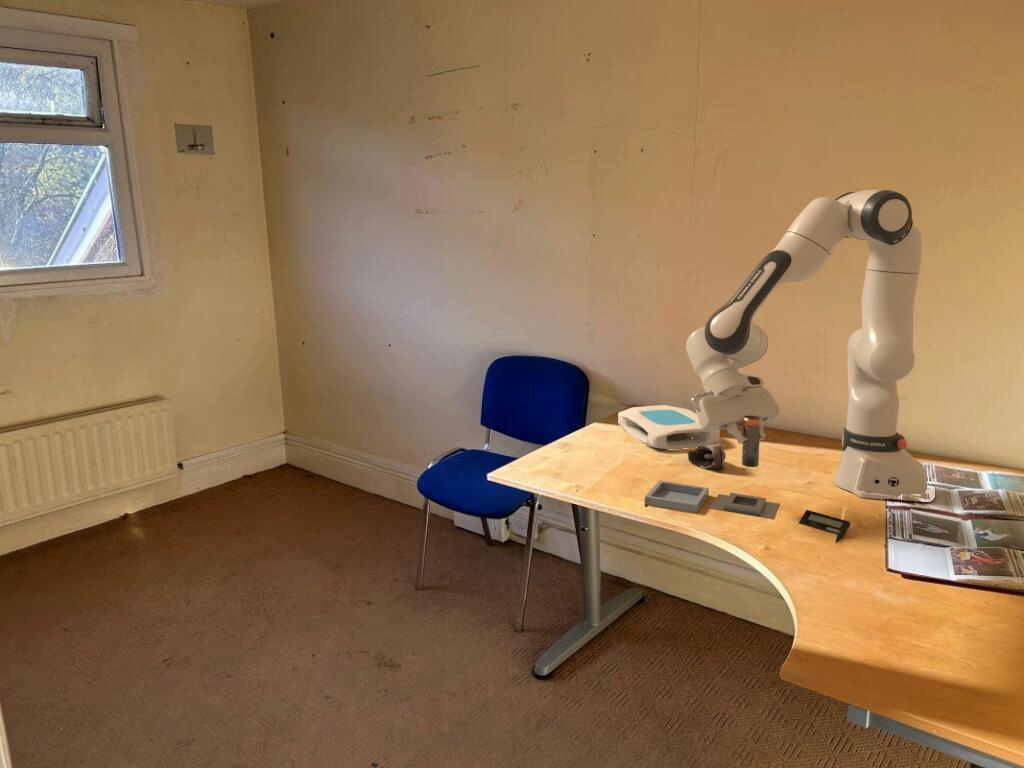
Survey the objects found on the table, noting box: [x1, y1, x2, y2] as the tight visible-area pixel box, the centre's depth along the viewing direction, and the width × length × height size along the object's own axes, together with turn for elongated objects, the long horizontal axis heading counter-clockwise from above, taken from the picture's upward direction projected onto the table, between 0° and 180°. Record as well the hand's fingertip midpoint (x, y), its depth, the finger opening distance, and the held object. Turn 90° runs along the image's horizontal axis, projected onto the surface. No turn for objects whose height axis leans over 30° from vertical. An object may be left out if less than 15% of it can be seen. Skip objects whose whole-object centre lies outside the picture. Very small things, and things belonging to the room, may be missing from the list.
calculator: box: [797, 509, 851, 545], centre depth 156 cm, size 9×12×3 cm
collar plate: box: [709, 492, 781, 520], centre depth 170 cm, size 14×10×2 cm
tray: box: [644, 480, 710, 514], centre depth 174 cm, size 12×12×2 cm
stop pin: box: [741, 415, 761, 468], centre depth 166 cm, size 4×4×11 cm
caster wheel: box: [687, 442, 727, 470], centre depth 199 cm, size 7×11×10 cm
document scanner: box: [617, 404, 721, 451], centre depth 226 cm, size 21×28×6 cm
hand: (753, 440), depth 166 cm, fingers closed on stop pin, 4 cm apart
